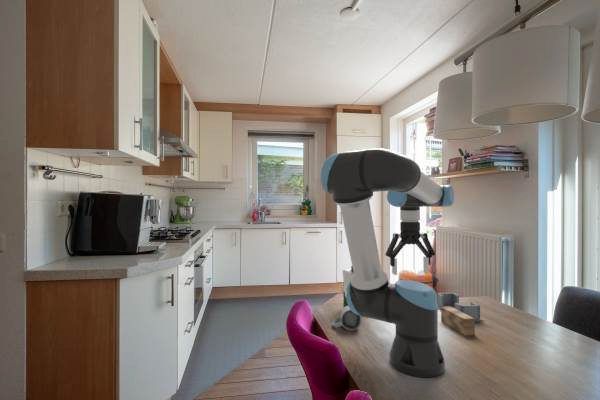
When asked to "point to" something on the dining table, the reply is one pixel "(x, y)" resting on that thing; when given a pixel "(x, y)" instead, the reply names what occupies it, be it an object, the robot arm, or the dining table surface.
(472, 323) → the wooden block
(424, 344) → the robot arm
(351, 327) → the ceramic mug
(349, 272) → the milk carton
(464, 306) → the endcap holder
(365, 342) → the dining table surface
